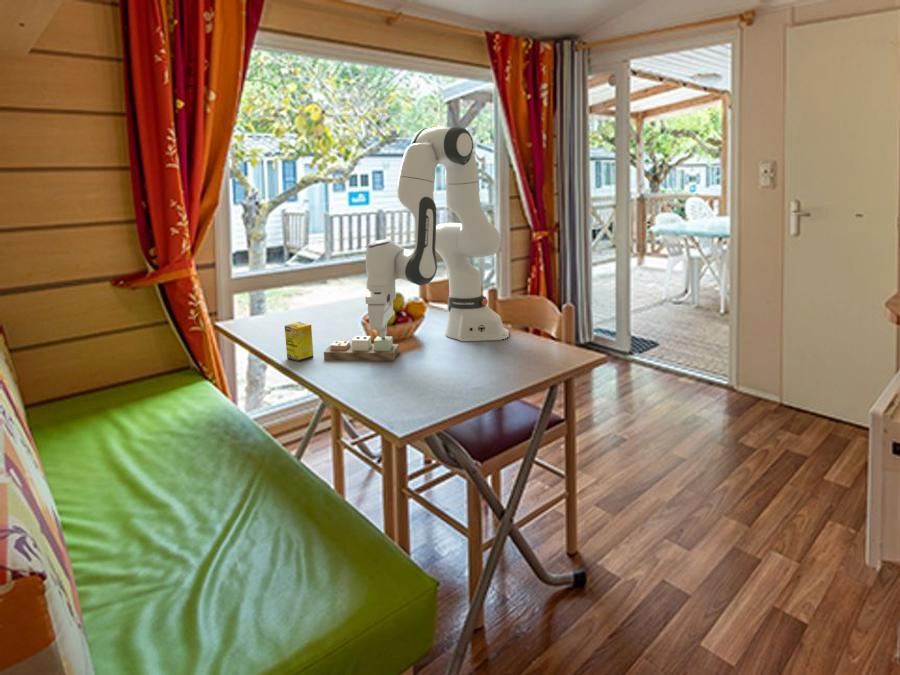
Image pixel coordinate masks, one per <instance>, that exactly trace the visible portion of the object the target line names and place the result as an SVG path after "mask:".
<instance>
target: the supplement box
mask: <svg viewBox="0 0 900 675" xmlns="http://www.w3.org/2000/svg"><path fill="white" fill-rule="evenodd" d="M312 332H313V331H312V324H309V323H303V322H301V321H297V322H294V323H293V322H292V323H289V324H286V325H284V337H285V347H286V348H285V349H286V359H287V360H291V361H293V362H294V361H295V362H298V363H301V362H304V361H307V360H310V359H313V358H314V345H313V333H312Z"/></svg>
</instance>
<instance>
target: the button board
mask: <svg viewBox="0 0 900 675" xmlns="http://www.w3.org/2000/svg"><path fill="white" fill-rule="evenodd" d="M399 353H400V344H399V343H398V344H397V343H393V349H392V350H391V351H374V343H371V349H370V350H369V351H352V342H350V347H349V349H348V350H331V348H330V345H329V346H328V347H327V348H326V349H324V351H323V360H324V361H369V362H371V361H372V362H376V361H377V362H394V361H395V360H396V357H397V356H398V355H399Z"/></svg>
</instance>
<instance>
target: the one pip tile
mask: <svg viewBox="0 0 900 675" xmlns="http://www.w3.org/2000/svg"><path fill="white" fill-rule="evenodd" d="M373 344H374V351H391V350H392V349H393V344H394V337H393V336H390V335H389V336H387V335H386V336H385V337H384V338H380V337H379V335H377V336H376V337H375V338H374V340H373Z"/></svg>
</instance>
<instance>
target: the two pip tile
mask: <svg viewBox="0 0 900 675" xmlns="http://www.w3.org/2000/svg"><path fill="white" fill-rule="evenodd" d="M351 344H352V351H369V350H370V349H371V344H372V335H355V336H354V337H353V338H352V339H351Z"/></svg>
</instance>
